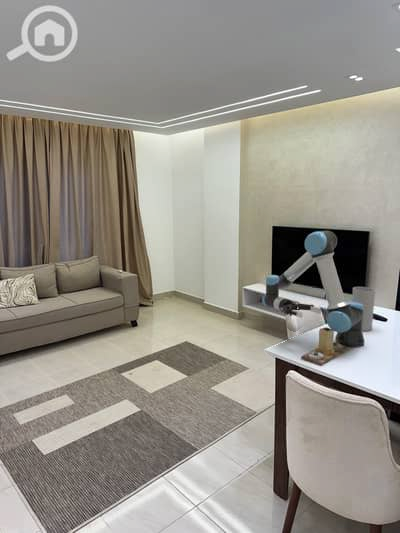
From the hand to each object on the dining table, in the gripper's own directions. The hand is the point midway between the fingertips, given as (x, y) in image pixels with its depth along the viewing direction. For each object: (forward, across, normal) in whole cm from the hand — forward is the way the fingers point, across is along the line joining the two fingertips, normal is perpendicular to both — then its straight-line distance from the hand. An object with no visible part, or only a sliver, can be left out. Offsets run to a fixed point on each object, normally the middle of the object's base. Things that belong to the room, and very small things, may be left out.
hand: (311, 313), depth 196 cm
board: (+10, 0, -20) cm, 22 cm away
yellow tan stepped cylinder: (+10, 0, -18) cm, 21 cm away
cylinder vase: (-8, -52, -20) cm, 56 cm away
